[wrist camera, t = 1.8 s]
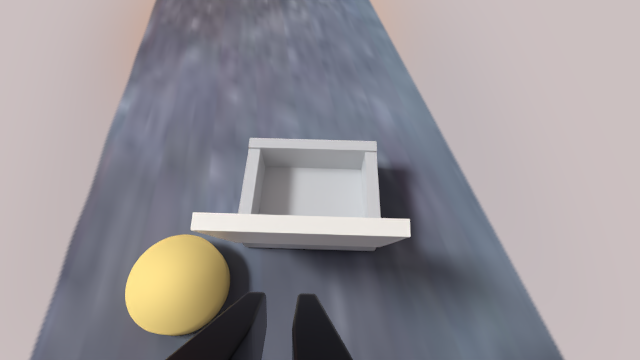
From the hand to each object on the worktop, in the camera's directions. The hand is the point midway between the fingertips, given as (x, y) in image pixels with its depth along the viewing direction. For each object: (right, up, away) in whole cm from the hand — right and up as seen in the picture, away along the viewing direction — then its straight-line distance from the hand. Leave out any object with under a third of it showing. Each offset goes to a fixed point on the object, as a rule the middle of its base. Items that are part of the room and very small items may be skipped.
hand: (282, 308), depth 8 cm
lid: (0, +1, +8) cm, 8 cm away
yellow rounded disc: (-8, -4, +14) cm, 16 cm away
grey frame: (0, +1, +16) cm, 16 cm away
